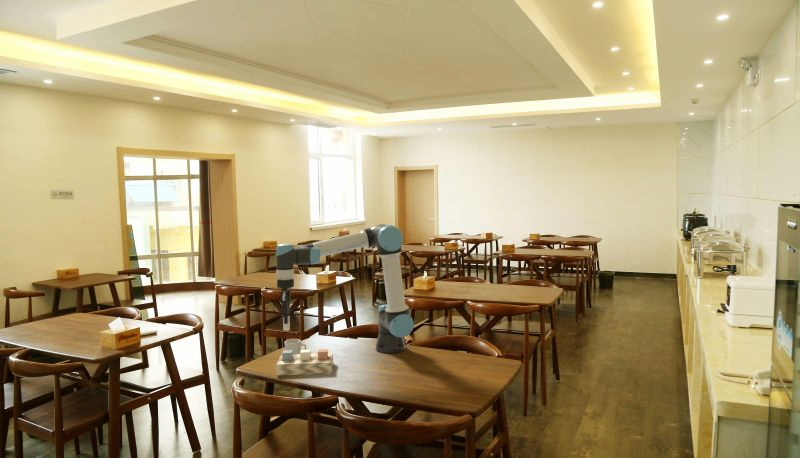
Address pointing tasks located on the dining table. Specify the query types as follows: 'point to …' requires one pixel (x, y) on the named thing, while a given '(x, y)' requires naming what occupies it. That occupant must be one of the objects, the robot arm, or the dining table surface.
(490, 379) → the dining table surface
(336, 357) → the dining table surface
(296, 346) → the cup
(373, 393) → the dining table surface
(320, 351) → the key terracotta
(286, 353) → the key slate
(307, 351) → the key cream
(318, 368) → the console
